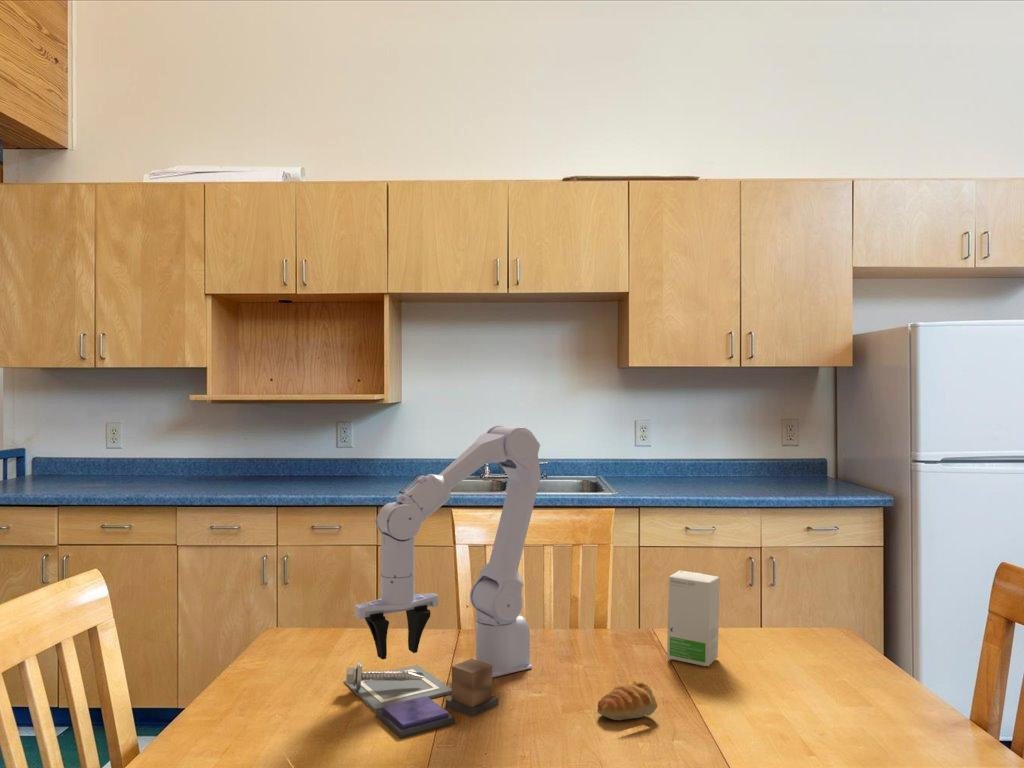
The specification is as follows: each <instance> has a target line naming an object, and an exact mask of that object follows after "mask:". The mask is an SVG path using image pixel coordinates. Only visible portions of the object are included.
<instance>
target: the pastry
mask: <svg viewBox="0 0 1024 768" xmlns="http://www.w3.org/2000/svg"><path fill="white" fill-rule="evenodd" d="M653 693H654V692H653V691H652V688H651V687H650V686H649V685H648V684H647V683H645V682H643V681H638V682H637V681H633V682H632V683H630V684H628V683H627V684H623V685H618V686H615V687H614V688H613V689H612V690H611V691H609V692H608V693H606V694H605V695H604V696H603V697H601V698H600V700H598V702H597V710H596V711H597V714H599V715H601V716H603V717H606V718H608V719H611V720H614V721H622V720H632V719H638V718H643V717H644V716H650V715H652V714H653V713H655V711H656V710H657V708H658V703H657V700H656V696H655V695H654V694H653Z"/></svg>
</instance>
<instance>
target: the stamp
mask: <svg viewBox="0 0 1024 768" xmlns="http://www.w3.org/2000/svg"><path fill="white" fill-rule="evenodd" d="M451 689H452V694H451V696H450V697H448V698H446V699H445V707H446V708H448V709H451V710H454V711H457V712H459V713H461V714H463V715H464V714H465V715H466V716H469V717H471V718H473V717H475V716H477V715H480V714H482V713H484V712H486V711H489V710H491V709H493V708H495V707H498V706H499V697H497V696H493V677H492V665H490V664H487V663H484V662H481V661H478V660H476V659H475V658H469V659H467V660H465V661H462V662H460V663H457V664H454V665H452V666H451Z"/></svg>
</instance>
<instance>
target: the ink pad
mask: <svg viewBox="0 0 1024 768" xmlns="http://www.w3.org/2000/svg"><path fill="white" fill-rule="evenodd" d="M375 717H376V718H377V719H379V720H380V721H381V722H382V723H383V724H384V725H385V727H387V728H389V730H391V731H392V733H394V734H395V735H396V736H397V737H398V738H399V739H403V738H406V737H410V736H414V735H419V734H421V733H426V732H429V731H433V730H437V729H440V728H443V727H447V726H451V725H455V724H456V720H455V719H456V716H454V715H453V714H451V713H450V712H449V711H447V710H446V709H445V708H443V707H442V706H441V705H439V704H438V703H437V702H435V701H434V700H433V699H432V698H431V699H430V698H429V697H427V696H424V697H420V698H415V699H411V700H407V701H403V702H399V703H395V704H391V705H387V706H382V709H378V710H376V712H375Z"/></svg>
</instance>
